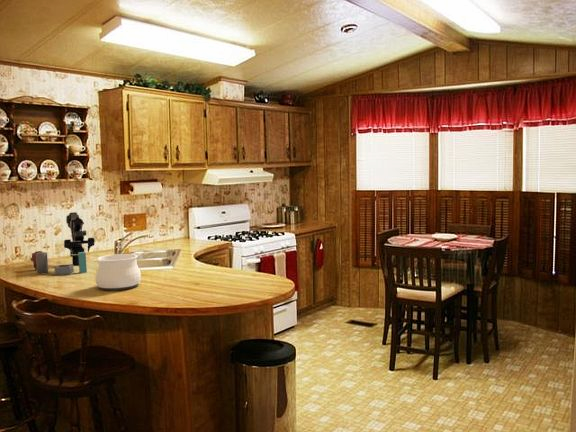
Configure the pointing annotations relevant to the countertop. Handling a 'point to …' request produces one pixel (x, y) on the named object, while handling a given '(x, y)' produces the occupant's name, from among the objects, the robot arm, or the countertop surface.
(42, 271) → the round bit
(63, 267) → the block
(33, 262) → the mechanical component
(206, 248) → the countertop surface
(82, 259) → the square bit
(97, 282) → the pot
